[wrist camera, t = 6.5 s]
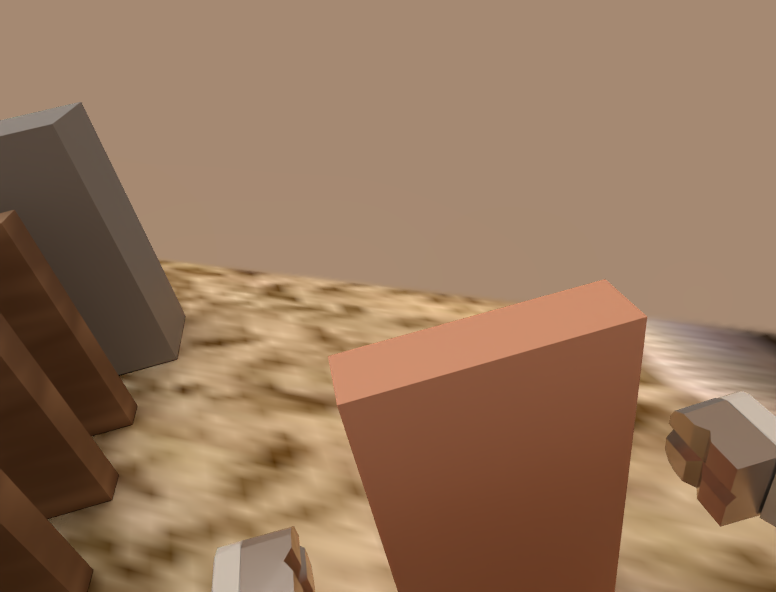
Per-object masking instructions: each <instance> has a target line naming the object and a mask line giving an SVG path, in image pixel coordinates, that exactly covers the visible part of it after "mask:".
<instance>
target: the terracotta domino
mask: <svg viewBox="0 0 776 592" xmlns="http://www.w3.org/2000/svg"><path fill="white" fill-rule="evenodd" d="M646 322H647V316H646V315H645V314H644V313H642V312H641V311H640V310H639V309H638V308H637V307H636V306H635V305H633V304H632V303H631V302H630V301H629V300H628V299H627V298H626V297H624V296H623V295H622V294H621V293H620V292H619V291H618V290H617V289H615V288H614V287H613V286H612V285H611V284H610V283H609V282H608V281H606V280H605V279H604V280H600V281H596V282H593V283H589V284H586V285H582V286H579V287H575V288H571V289H568V290H564V291H560V292H557V293H553V294H550V295H546V296H543V297H539V298H535V299H532V300H528V301H524V302H521V303H517V304H514V305H510V306H507V307H503V308H499V309H496V310H492V311H489V312H485V313H481V314H478V315H474V316H471V317H467V318H463V319H460V320H456V321H453V322H449V323H445V324H442V325H438V326H435V327H431V328H427V329H424V330H420V331H417V332H413V333H409V334H406V335H402V336H399V337H395V338H391V339H388V340H384V341H381V342H377V343H373V344H370V345H366V346H363V347H359V348H355V349H352V350H348V351H345V352H341V353H337V354H334V355H330V356H328V359H329V364H330V369H331V375H332V380H333V386H334V391H335V396H336V402H337V406H338V409H339V412H340V415H341V419H342V422H343V425H344V428H345V431H346V434H347V437H348V440H349V443H350V446H351V449H352V452H353V455H354V458H355V461H356V464H357V468H358V471H359V474H360V477H361V480H362V483H363V486H364V489H365V492H366V495H367V498H368V501H369V504H370V507H371V510H372V513H373V516H374V520H375V523H376V526H377V529H378V532H379V535H380V538H381V541H382V544H383V547H384V550H385V553H386V556H387V559H388V562H389V565H390V569H391V572H392V575H393V578H394V581H395V584H396V587H397V590H398V592H615V583H616V575H617V567H618V558H619V550H620V541H621V533H622V524H623V516H624V508H625V499H626V491H627V482H628V474H629V465H630V457H631V449H632V440H633V432H634V423H635V415H636V406H637V398H638V390H639V381H640V373H641V364H642V356H643V348H644V339H645V331H646Z"/></svg>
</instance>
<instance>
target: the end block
mask: <svg viewBox="0 0 776 592" xmlns="http://www.w3.org/2000/svg"><path fill="white" fill-rule="evenodd" d="M11 210H15V211H16V213H17V214H18V216H19V217H20V219H21V221H22V222H23V224H24V225H25V227H26V229H27V230H28V232H29V233H30V235H31V237H32V238H33V240H34V241H35V243H36V245H37V246H38V248H39V249H40V251H41V253H42V254H43V256H44V257H45V259H46V261H47V262H48V264H49V265H50V267H51V269H52V270H53V272H54V273H55V275H56V276H57V278H58V280H59V281H60V283H61V284H62V286H63V288H64V289H65V291H66V292H67V294H68V296H69V297H70V299H71V300H72V302H73V304H74V305H75V307H76V308H77V310H78V312H79V313H80V315H81V316H82V318H83V320H84V321H85V323H86V324H87V326H88V328H89V329H90V331H91V332H92V334H93V336H94V337H95V339H96V340H97V342H98V344H99V345H100V347H101V348H102V350H103V352H104V353H105V355H106V356H107V358H108V360H109V361H110V363H111V364H112V366H113V368H114V369H115V371H116V372H117V374H118V375H120V374H124V373H128V372H131V371H135V370H139V369H142V368H146V367H150V366H153V365H157V364H161V363H164V362H168V361H172V360H175V359H177V356H178V351H179V346H180V341H181V336H182V331H183V326H184V321H185V314H184V312H183V310H182V308H181V306H180V303H179V301H178V299H177V297H176V295H175V293H174V291H173V289H172V287H171V285H170V283H169V281H168V279H167V277H166V275H165V273H164V271H163V269H162V267H161V265H160V263H159V260H158V258H157V256H156V254H155V252H154V251H153V248H152V246H151V244H150V242H149V240H148V238H147V236H146V234H145V232H144V230H143V228H142V226H141V224H140V222H139V220H138V217H137V215H136V213H135V212H134V209H133V207H132V205H131V203H130V201H129V199H128V197H127V195H126V193H125V191H124V189H123V187H122V185H121V183H120V181H119V179H118V177H117V175H116V173H115V171H114V168H113V166H112V164H111V162H110V160H109V158H108V156H107V154H106V152H105V150H104V148H103V146H102V144H101V142H100V140H99V138H98V136H97V134H96V131H95V130H94V127H93V125H92V123H91V121H90V119H89V117H88V115H87V113H86V111H85V109H84V107H83V105H82V103H81V102H78V103H74V104H69V105H65V106H61V107H56V108H52V109H48V110H44V111H39V112H35V113H31V114H27V115H22V116H18V117H13V118H9V119H5V120H0V213H3V212H7V211H11Z"/></svg>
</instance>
